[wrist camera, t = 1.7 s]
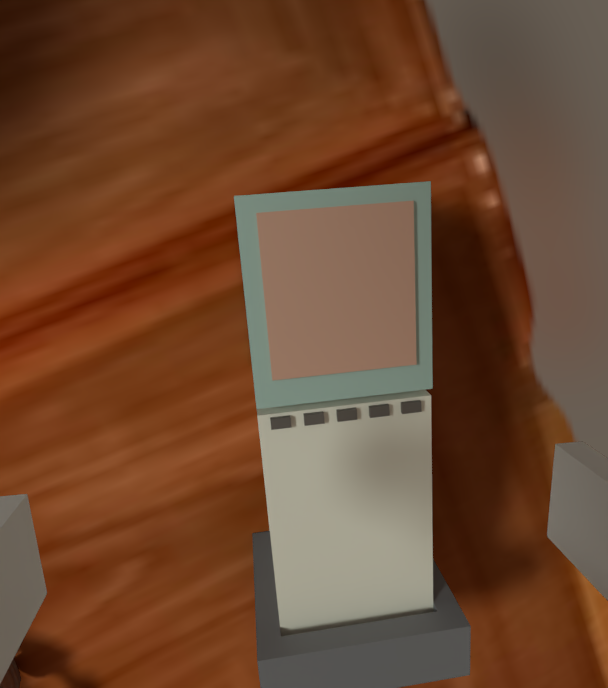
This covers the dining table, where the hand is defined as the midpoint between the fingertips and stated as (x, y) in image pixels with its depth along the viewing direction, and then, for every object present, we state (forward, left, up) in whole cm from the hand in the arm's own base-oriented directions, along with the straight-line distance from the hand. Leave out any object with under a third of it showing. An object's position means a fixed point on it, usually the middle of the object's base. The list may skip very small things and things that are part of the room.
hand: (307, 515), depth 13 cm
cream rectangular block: (+9, +3, -18) cm, 21 cm away
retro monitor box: (-4, +3, -18) cm, 18 cm away
